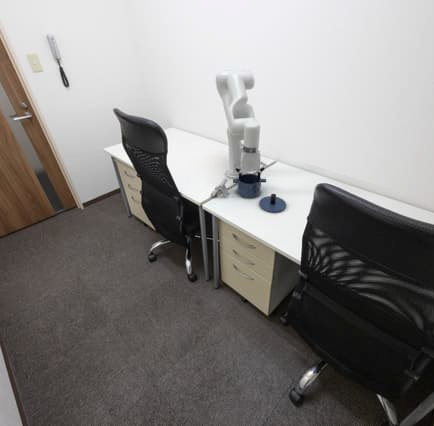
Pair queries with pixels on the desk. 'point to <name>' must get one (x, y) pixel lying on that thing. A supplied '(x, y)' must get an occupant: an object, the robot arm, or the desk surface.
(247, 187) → the pot
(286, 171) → the desk surface
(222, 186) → the tablet stand
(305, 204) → the desk surface
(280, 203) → the lid
